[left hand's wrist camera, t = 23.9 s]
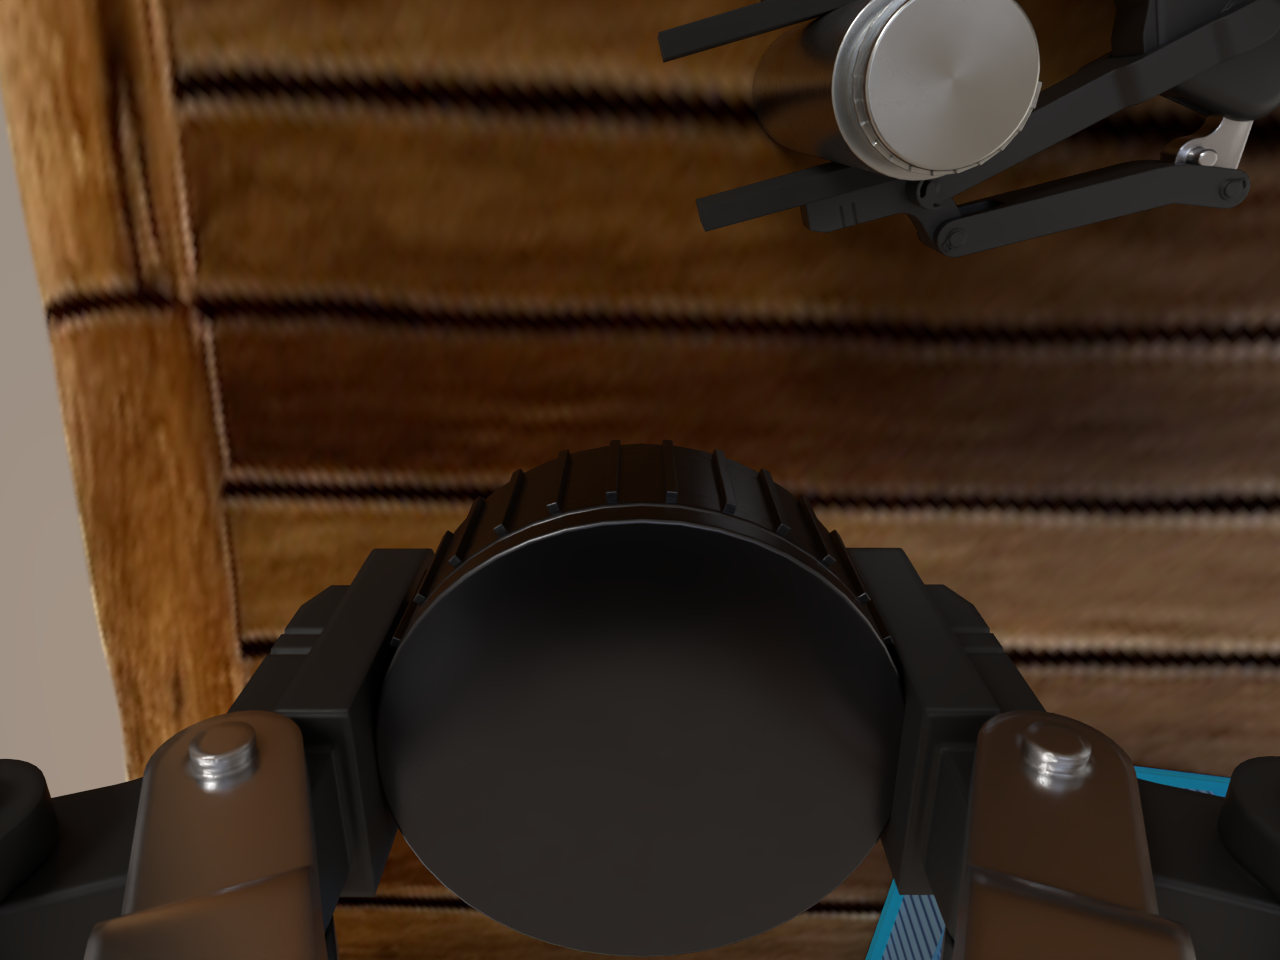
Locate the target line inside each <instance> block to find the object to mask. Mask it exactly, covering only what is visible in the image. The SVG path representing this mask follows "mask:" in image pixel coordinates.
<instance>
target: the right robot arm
mask: <svg viewBox="0 0 1280 960" xmlns="http://www.w3.org/2000/svg"><path fill="white" fill-rule="evenodd" d="M854 1H856V0H761V2H759V3H756V4H753V5H749V6H746V7H743V8H739V9H736V10H732V11H729V12H726V13H722V14H719V15H716V16H712V17H709V18H706V19H702V20H699V21H696V22H692V23H689V24H685V25H682V26H679V27H675V28H672V29H669V30H665V31H662V32H659V35H658V41H659V45H660V50H661V54H662V58H663V63H664V62H667V61H670V60H674V59H677V58H681V57H684V56H687V55H691V54H694V53H698V52H701V51H705V50H708V49H711V48H715V47H718V46H722V45H725V44H728V43H732V42H735V41H739V40H742V39H745V38H749V37H752V36H756V35H759V34H762V33H766V32H769V31H773V30H776V29H779V28H783V27H786V26H790V25H793V24H796V23H800V22H803V21H807V20H810V19H813V18H817V17H820V16H823V15H825V14H827V13H830V12H832V11H834V10H836V9H838V8H841V7H843V6H845V5H847V4H850V3H852V2H854ZM1114 3H1115V6H1116V15H1115V20H1114V26H1113V31H1112V37H1111V41H1112V51H1111V52H1109V53H1107V54H1105V55H1103V56H1102V57H1100V58H1098V59H1096V60H1094V61H1092V62H1090V63H1088V64H1087V65H1085V66H1083V67H1082V68H1080V69H1079V71H1078V72H1077V73H1075V74H1074V75H1072V76H1070V77H1068V78H1066V79H1064V80H1062V81H1060V82H1059V83H1057V84H1055V85H1053V86H1051V87H1049V88H1047V89H1045V90H1044V91H1042V92H1040V93H1039V96H1038V100H1037V103H1036V107H1035V108H1034V109H1033V110H1032V112H1031V114H1030V115H1029V117H1028V119H1027V121H1026V123H1025V125H1024V127H1023V129H1022V130H1021V132H1018V133H1017V135H1016V136H1015V137H1014V138H1013V139H1012V140H1011V141H1010V143H1009V144H1008V145H1007V146H1006V147H1005V148H1004V150H1003V151H1000V152H998V153H997V154H995V155H994V156H993V157H991V158H990V159H989V160H987V161H986V162H984V163H983V164H982V165H978V166H975V167H973V168H970V169H968V170H965V171H963V172H960V173H958V174H956V173H955V174H948V175H945V176H942V177H939V178H935V179H929V180H923V181H908V180H899V179H895V178H891V177H888V176H884V175H880V174H877V173H873V172H870V171H866V170H862V169H859V168H855V167H851V166H848V165H844V164H841V163H837V162H830V163H826V164H822V165H819V166H815V167H811V168H808V169H804V170H801V171H797V172H793V173H790V174H786V175H783V176H779V177H775V178H772V179H768V180H765V181H761V182H757V183H754V184H750V185H746V186H743V187H739V188H736V189H732V190H728V191H725V192H721V193H718V194H714V195H710V196H707V197H703V198H700V199H696V204H697V208H698V212H699V217H700V221H701V223H702V225H703V228H704V230H705V232H706V231H710V230H713V229H717V228H721V227H724V226H728V225H732V224H735V223H739V222H743V221H746V220H750V219H754V218H757V217H761V216H765V215H768V214H772V213H776V212H779V211H783V210H787V209H790V208H794V207H798V206H800V209H801V214H802V220H803V225H804V226H805V227H807V228H808V229H809V230H810V231H818V232H826V233H827V232H831V231H834V230H838V229H842V228H845V227H849V226H853V225H856V224H860V223H864V222H868V221H872V220H875V219H879V218H883V217H886V216H890V215H894V214H899V213H906V214H907V215H908V216H909V218H910V219H911V221H912V223H913V224H914V226H915V228H916V230H917V235H918V238H919V240H920V241H921V242H922V243H923V244H924V245H926V246H928V247H930V248H932V249H934V250H936V251H938V252H940V253H942V254H944V255H946V256H949V257H960V256H964V255H968V254H972V253H976V252H980V251H984V250H988V249H992V248H996V247H1000V246H1004V245H1008V244H1012V243H1016V242H1020V241H1024V240H1028V239H1032V238H1036V237H1040V236H1044V235H1048V234H1052V233H1056V232H1060V231H1064V230H1068V229H1072V228H1076V227H1080V226H1084V225H1088V224H1092V223H1096V222H1100V221H1104V220H1108V219H1112V218H1116V217H1120V216H1124V215H1128V214H1132V213H1136V212H1140V211H1144V210H1148V209H1152V208H1156V207H1160V206H1164V205H1168V204H1172V203H1176V204H1186V205H1195V206H1205V207H1214V208H1224V209H1225V208H1232V207H1234V206H1236V205H1239V204H1240V203H1241V202H1242V201H1243V200H1244V199H1245V198H1246V196H1247V194H1248V192H1249V189H1250V180H1249V176H1248V175H1247V174H1246V173H1245V172H1244V171H1241V170H1238V169H1237V168H1238V165H1239V162H1240V159H1241V156H1242V153H1243V150H1244V147H1245V144H1246V141H1247V138H1248V136H1249V133H1250V130H1251V127H1252V124H1253V121H1254V120H1257V119H1260V118H1262V117H1265V116H1267V115H1268V114H1270V113H1272V112H1273V111H1274V110H1276V109H1277V108H1278V107H1279V106H1280V0H1114ZM1157 95H1161V96H1163V97H1165V98H1167V99H1170V100H1172V101H1174V102H1176V103H1178V104H1181V105H1183V106H1185V107H1187V108H1189V109H1192V110H1194V111H1196V112H1198V113H1200V114H1203V115H1205V116H1207V119H1206V121H1205V123H1204V125H1203V126H1202V127H1201V128H1200V129H1199V130H1198V131H1197V132H1196V133H1194V134H1192V135H1190V136H1185V137H1179V138H1177V139H1175V140H1173V141H1172V142H1170V143H1169V144H1168V145H1167V147H1165V148H1164V149H1163V150H1162V151H1161V153H1160V160H1139V161H1131V162H1126V163H1121V164H1116V165H1113V166H1109V167H1105V168H1101V169H1097V170H1093V171H1089V172H1085V173H1081V174H1077V175H1073V176H1070V177H1066V178H1062V179H1058V180H1054V181H1050V182H1046V183H1042V184H1038V185H1034V186H1030V187H1027V188H1023V189H1019V190H1015V191H1011V192H1007V193H1003V194H999V195H995V196H991V197H987V198H984V199H980V200H976V201H972V202H968V203H964V204H960V205H956V203H955V202H954V200H953V198H952V197H953V196H955V195H957V194H959V193H961V192H963V191H965V190H967V189H969V188H971V187H973V186H975V185H977V184H979V183H980V182H982V181H984V180H986V179H988V178H990V177H992V176H994V175H996V174H998V173H1000V172H1002V171H1004V170H1006V169H1007V168H1009V167H1011V166H1013V165H1015V164H1017V163H1019V162H1021V161H1023V160H1025V159H1027V158H1029V157H1031V156H1033V155H1035V154H1036V153H1038V152H1040V151H1042V150H1044V149H1046V148H1048V147H1050V146H1052V145H1054V144H1056V143H1058V142H1060V141H1062V140H1063V139H1065V138H1067V137H1069V136H1071V135H1073V134H1075V133H1077V132H1079V131H1081V130H1083V129H1085V128H1087V127H1089V126H1091V125H1092V124H1094V123H1096V122H1098V121H1100V120H1102V119H1104V118H1106V117H1108V116H1110V115H1112V114H1114V113H1116V112H1118V111H1120V110H1122V109H1124V108H1127V107H1130V106H1133V105H1137V104H1139V103H1142V102H1145V101H1147V100H1149V99H1151V98H1153V97H1155V96H1157Z"/></svg>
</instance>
